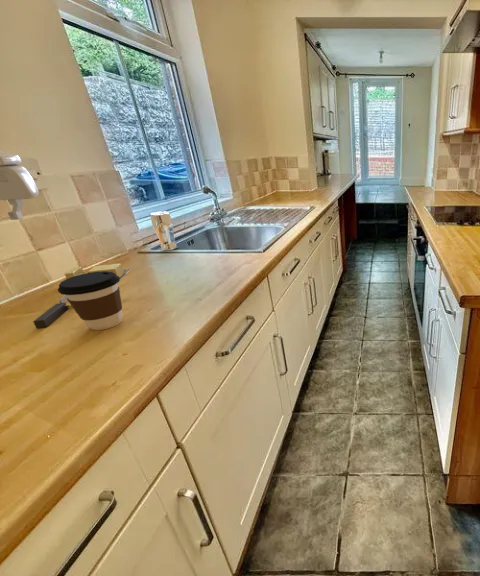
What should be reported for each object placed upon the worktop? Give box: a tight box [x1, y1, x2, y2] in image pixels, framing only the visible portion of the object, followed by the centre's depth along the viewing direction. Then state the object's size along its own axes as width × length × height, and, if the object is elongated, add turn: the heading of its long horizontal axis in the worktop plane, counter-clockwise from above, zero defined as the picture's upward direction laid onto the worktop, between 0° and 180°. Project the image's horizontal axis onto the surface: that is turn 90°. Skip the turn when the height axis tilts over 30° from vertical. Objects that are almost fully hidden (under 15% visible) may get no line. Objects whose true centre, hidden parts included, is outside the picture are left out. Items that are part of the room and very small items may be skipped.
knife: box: [32, 295, 71, 329], centre depth 85 cm, size 21×2×3 cm, turn 19°
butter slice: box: [64, 266, 85, 279], centre depth 99 cm, size 2×6×4 cm, turn 19°
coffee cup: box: [57, 271, 123, 331], centre depth 76 cm, size 11×11×12 cm
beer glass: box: [149, 211, 179, 251], centre depth 133 cm, size 7×7×15 cm
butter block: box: [87, 263, 125, 278], centre depth 101 cm, size 7×6×4 cm
